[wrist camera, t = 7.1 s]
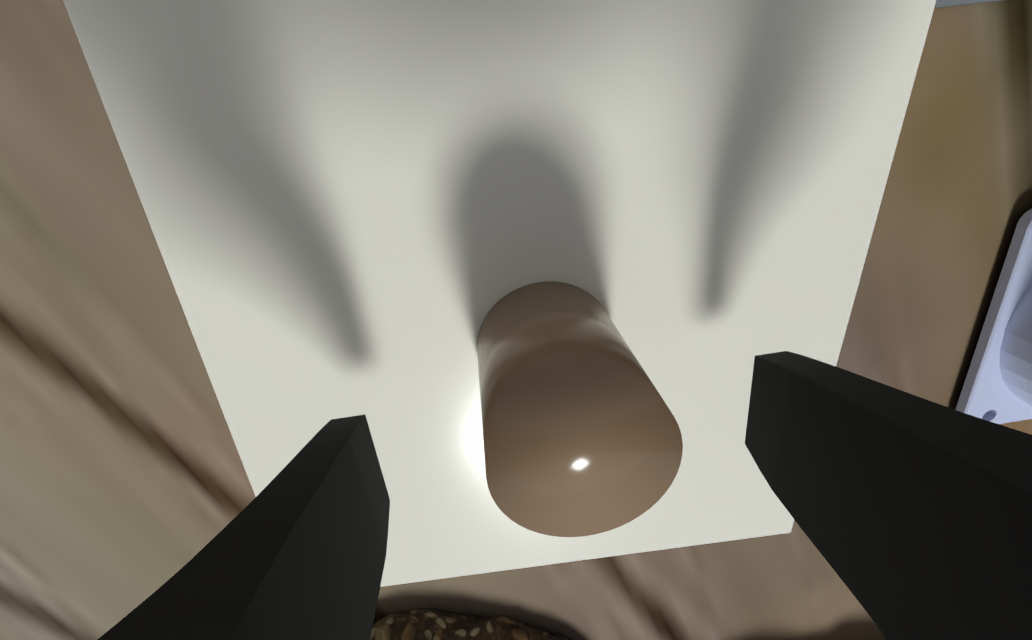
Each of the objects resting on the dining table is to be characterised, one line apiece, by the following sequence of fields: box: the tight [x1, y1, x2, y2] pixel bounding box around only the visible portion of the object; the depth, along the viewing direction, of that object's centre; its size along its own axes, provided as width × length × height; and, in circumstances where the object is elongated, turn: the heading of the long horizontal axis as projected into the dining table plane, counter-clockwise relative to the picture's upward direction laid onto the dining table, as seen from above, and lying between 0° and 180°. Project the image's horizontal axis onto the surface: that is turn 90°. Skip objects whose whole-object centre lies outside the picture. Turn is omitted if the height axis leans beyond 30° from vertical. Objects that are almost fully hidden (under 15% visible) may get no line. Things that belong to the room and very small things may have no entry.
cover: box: [63, 0, 936, 587], centre depth 11 cm, size 14×14×7 cm
